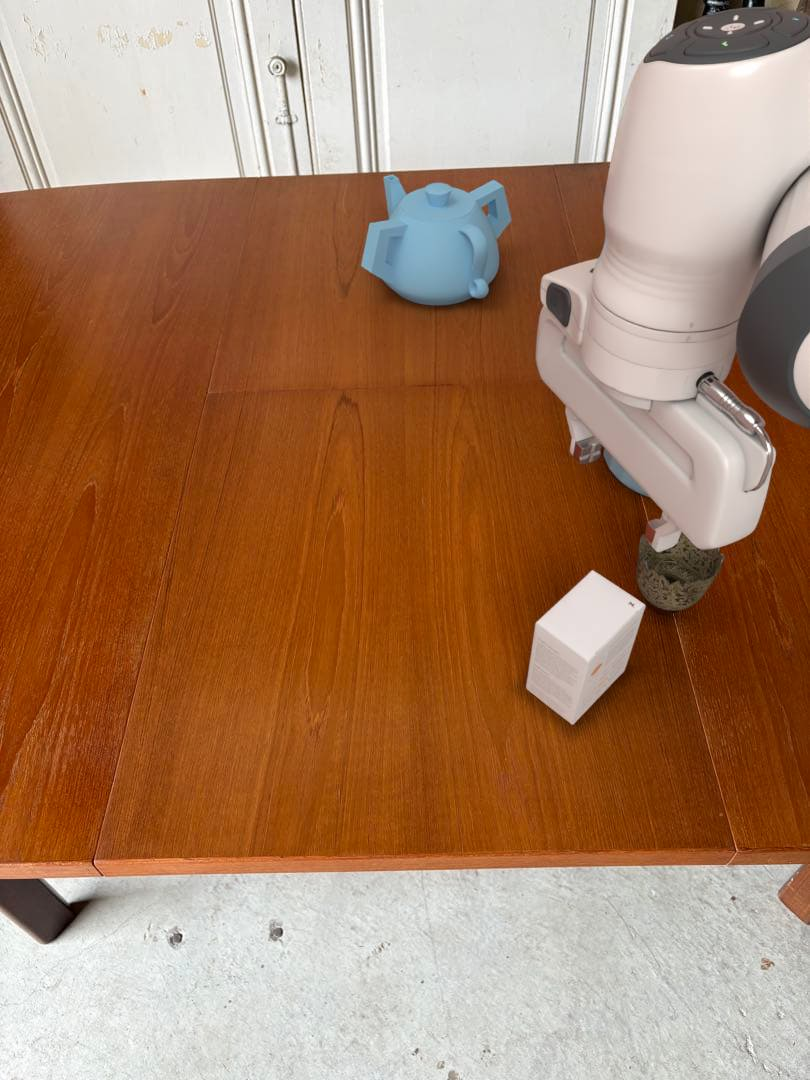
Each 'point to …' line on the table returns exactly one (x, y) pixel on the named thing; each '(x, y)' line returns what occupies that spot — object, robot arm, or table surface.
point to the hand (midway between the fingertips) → (619, 497)
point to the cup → (675, 574)
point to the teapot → (438, 241)
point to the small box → (582, 645)
